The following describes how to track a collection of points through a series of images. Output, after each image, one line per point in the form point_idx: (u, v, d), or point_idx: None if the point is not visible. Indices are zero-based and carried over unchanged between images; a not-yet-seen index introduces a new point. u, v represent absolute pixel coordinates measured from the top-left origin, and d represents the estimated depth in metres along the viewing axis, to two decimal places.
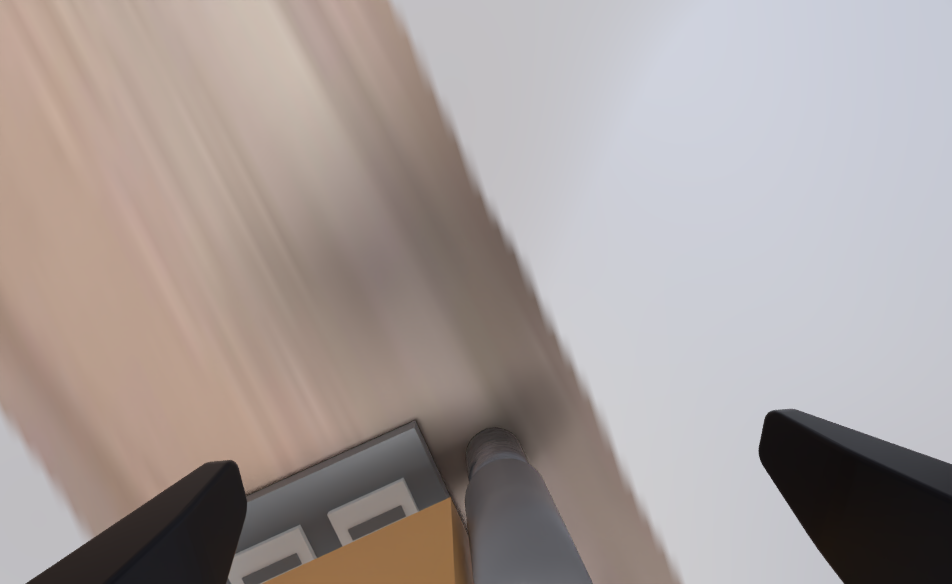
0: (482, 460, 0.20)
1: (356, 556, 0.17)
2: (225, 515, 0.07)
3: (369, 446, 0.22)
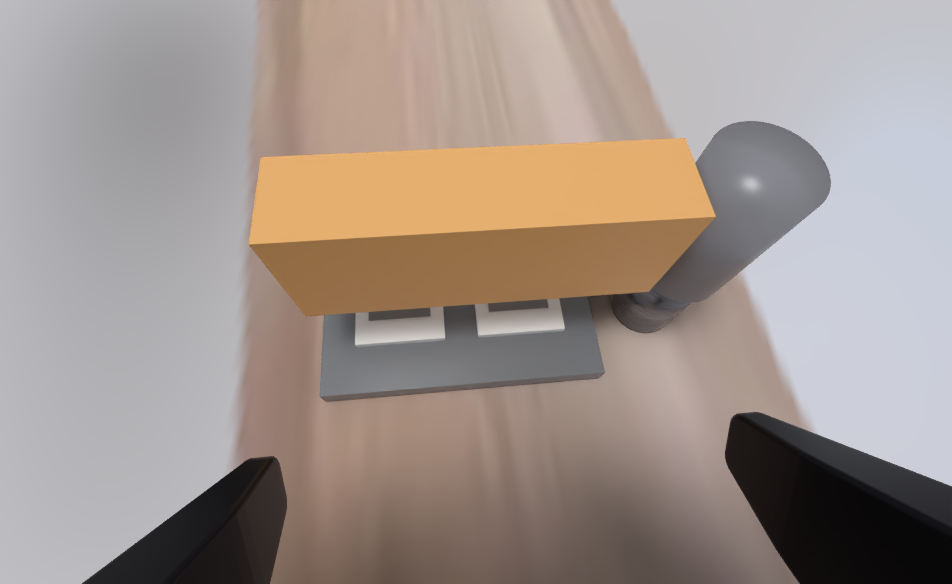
0: None
1: None
2: (269, 510, 0.07)
3: None
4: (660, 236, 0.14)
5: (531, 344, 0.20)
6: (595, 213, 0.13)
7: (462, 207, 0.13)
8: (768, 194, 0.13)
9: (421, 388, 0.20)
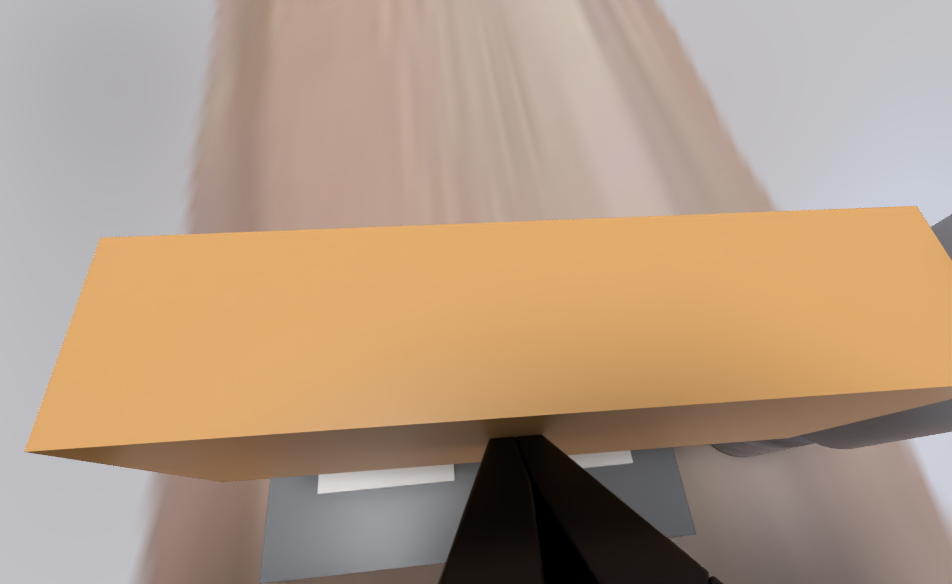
0: None
1: None
2: None
3: None
4: (888, 402, 0.07)
5: None
6: (781, 372, 0.06)
7: (501, 356, 0.06)
8: None
9: (418, 565, 0.13)
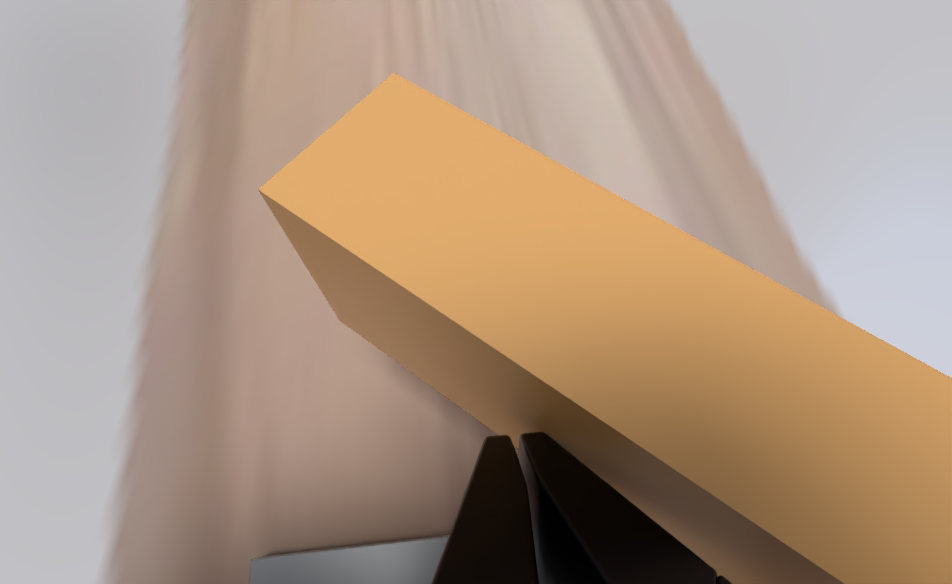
0: None
1: None
2: None
3: None
4: None
5: None
6: None
7: (648, 376, 0.05)
8: None
9: None
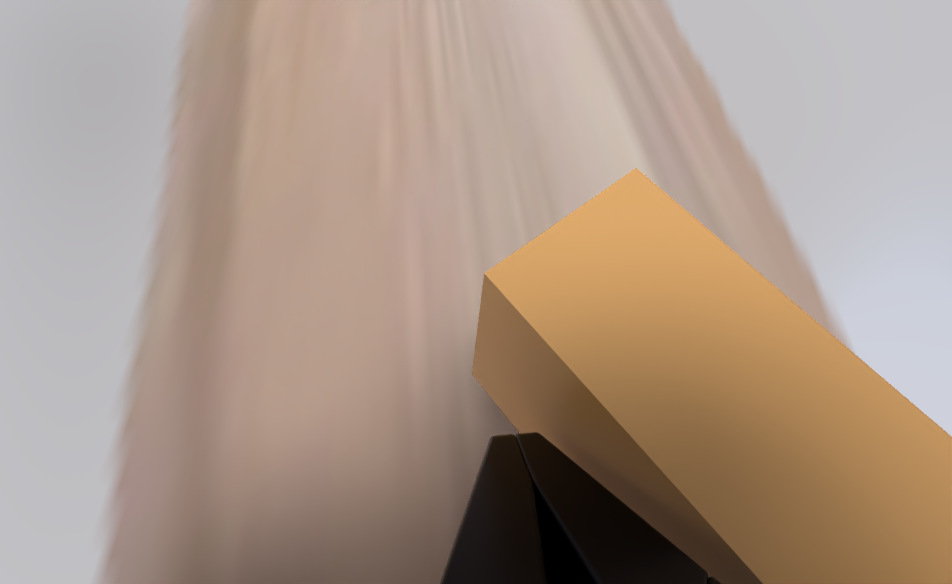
0: None
1: None
2: None
3: None
4: None
5: None
6: None
7: None
8: None
9: None
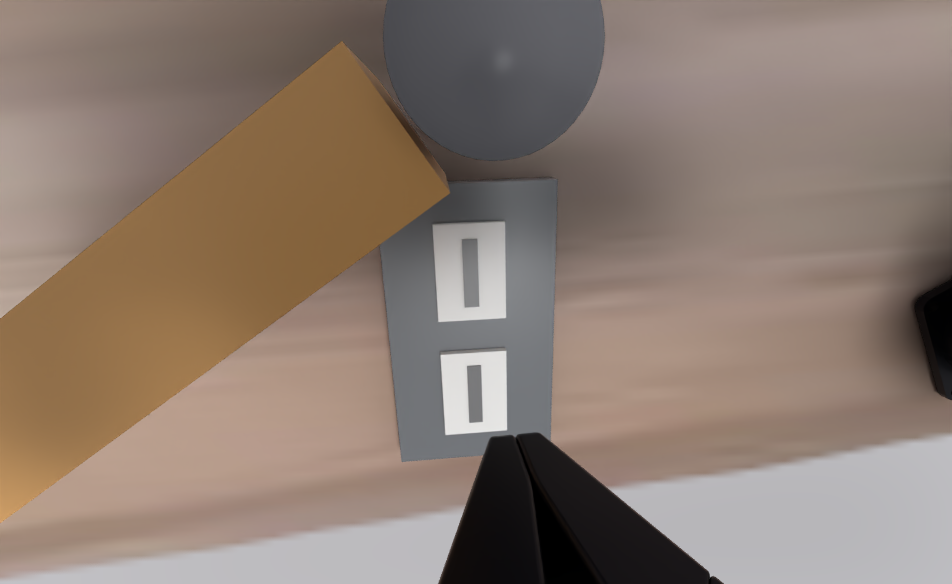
0: None
1: None
2: None
3: None
4: None
5: (517, 259, 0.18)
6: (292, 286, 0.09)
7: (129, 376, 0.09)
8: (510, 118, 0.08)
9: (551, 367, 0.20)
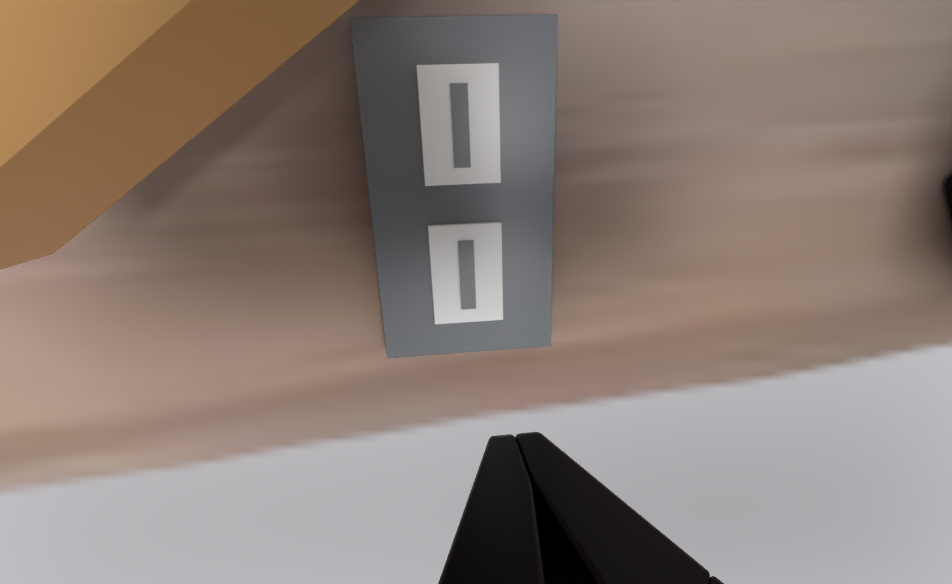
0: None
1: None
2: None
3: None
4: None
5: (513, 113, 0.16)
6: None
7: (12, 69, 0.07)
8: None
9: (552, 247, 0.18)
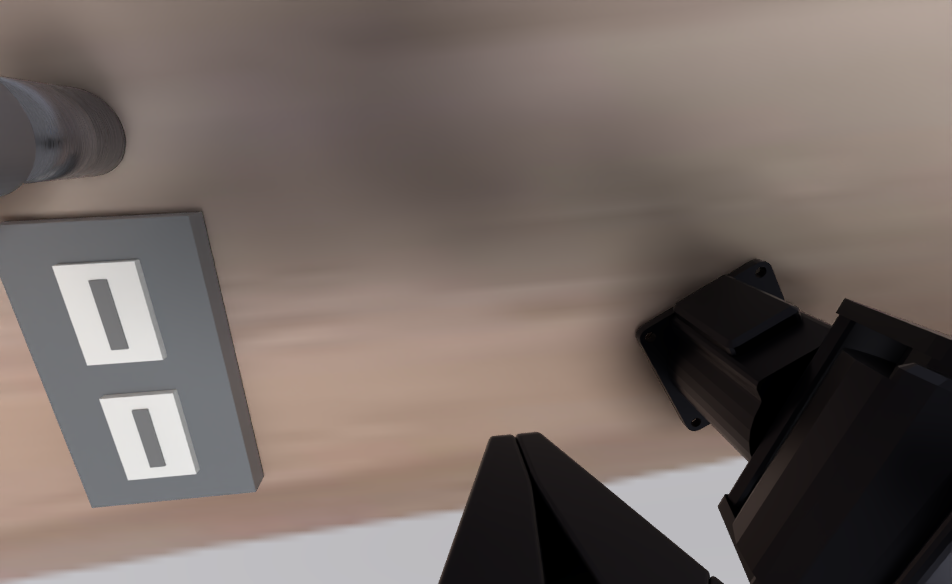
0: None
1: None
2: None
3: (10, 289, 0.17)
4: None
5: (165, 299, 0.17)
6: None
7: None
8: None
9: (236, 408, 0.19)
